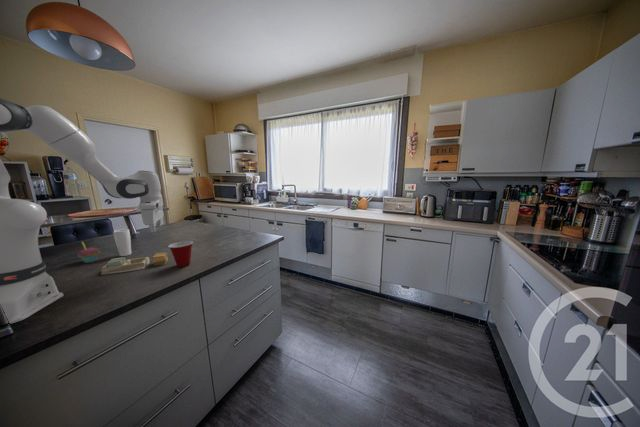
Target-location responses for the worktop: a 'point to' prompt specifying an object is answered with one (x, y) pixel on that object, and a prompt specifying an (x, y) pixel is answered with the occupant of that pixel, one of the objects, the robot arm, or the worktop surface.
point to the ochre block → (160, 259)
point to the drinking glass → (123, 241)
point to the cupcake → (88, 254)
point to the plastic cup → (181, 252)
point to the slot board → (124, 265)
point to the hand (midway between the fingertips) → (156, 229)
